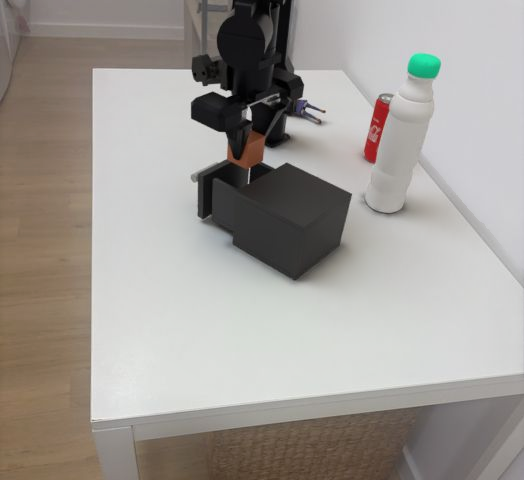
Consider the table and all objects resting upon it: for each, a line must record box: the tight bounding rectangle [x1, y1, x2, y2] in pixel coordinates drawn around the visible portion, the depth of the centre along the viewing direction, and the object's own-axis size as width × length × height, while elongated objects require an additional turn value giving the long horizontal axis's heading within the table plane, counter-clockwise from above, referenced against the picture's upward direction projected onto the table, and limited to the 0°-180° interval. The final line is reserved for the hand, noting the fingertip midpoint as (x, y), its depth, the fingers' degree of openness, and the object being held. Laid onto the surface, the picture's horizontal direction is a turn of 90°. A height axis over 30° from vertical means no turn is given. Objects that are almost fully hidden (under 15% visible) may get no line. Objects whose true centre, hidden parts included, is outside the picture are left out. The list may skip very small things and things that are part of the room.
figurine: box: [287, 99, 327, 124], centre depth 118 cm, size 6×4×15 cm
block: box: [226, 130, 266, 170], centre depth 80 cm, size 4×4×4 cm
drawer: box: [190, 158, 276, 232], centre depth 86 cm, size 16×11×8 cm
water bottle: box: [364, 52, 442, 214], centre depth 88 cm, size 7×7×25 cm
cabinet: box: [232, 162, 353, 281], centre depth 82 cm, size 13×13×10 cm
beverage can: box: [363, 92, 395, 164], centre depth 104 cm, size 5×5×12 cm
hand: (246, 154), depth 81 cm, fingers closed on block, 4 cm apart
